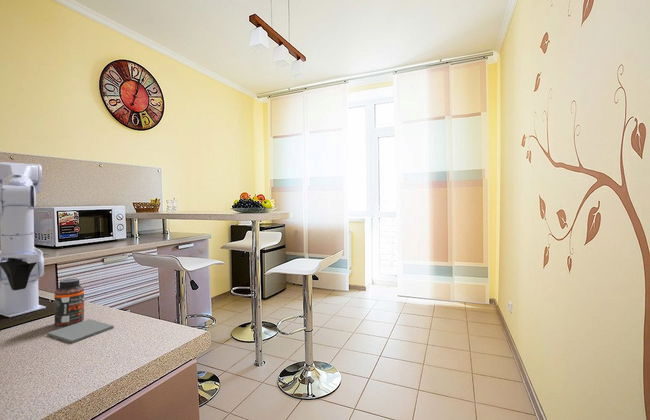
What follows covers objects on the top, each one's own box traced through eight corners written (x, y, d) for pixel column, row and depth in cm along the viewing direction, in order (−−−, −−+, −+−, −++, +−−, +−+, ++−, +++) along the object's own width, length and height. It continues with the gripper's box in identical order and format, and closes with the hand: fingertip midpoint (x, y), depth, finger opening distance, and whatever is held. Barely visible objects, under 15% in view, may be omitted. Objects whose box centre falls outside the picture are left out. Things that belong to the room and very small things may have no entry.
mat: (47, 335, 71) (47, 332, 71) (89, 321, 79) (89, 319, 79) (72, 343, 67) (72, 340, 67) (113, 327, 76) (113, 325, 76)
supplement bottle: (71, 327, 76) (70, 283, 75) (48, 327, 76) (47, 283, 75) (90, 318, 82) (89, 277, 81) (68, 317, 82) (68, 277, 81)
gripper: (-21, 234, 72) (-19, 289, 73) (10, 238, 66) (12, 298, 67) (18, 231, 79) (19, 282, 79) (49, 234, 73) (50, 289, 73)
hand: (18, 289), depth 73 cm, fingers closed
